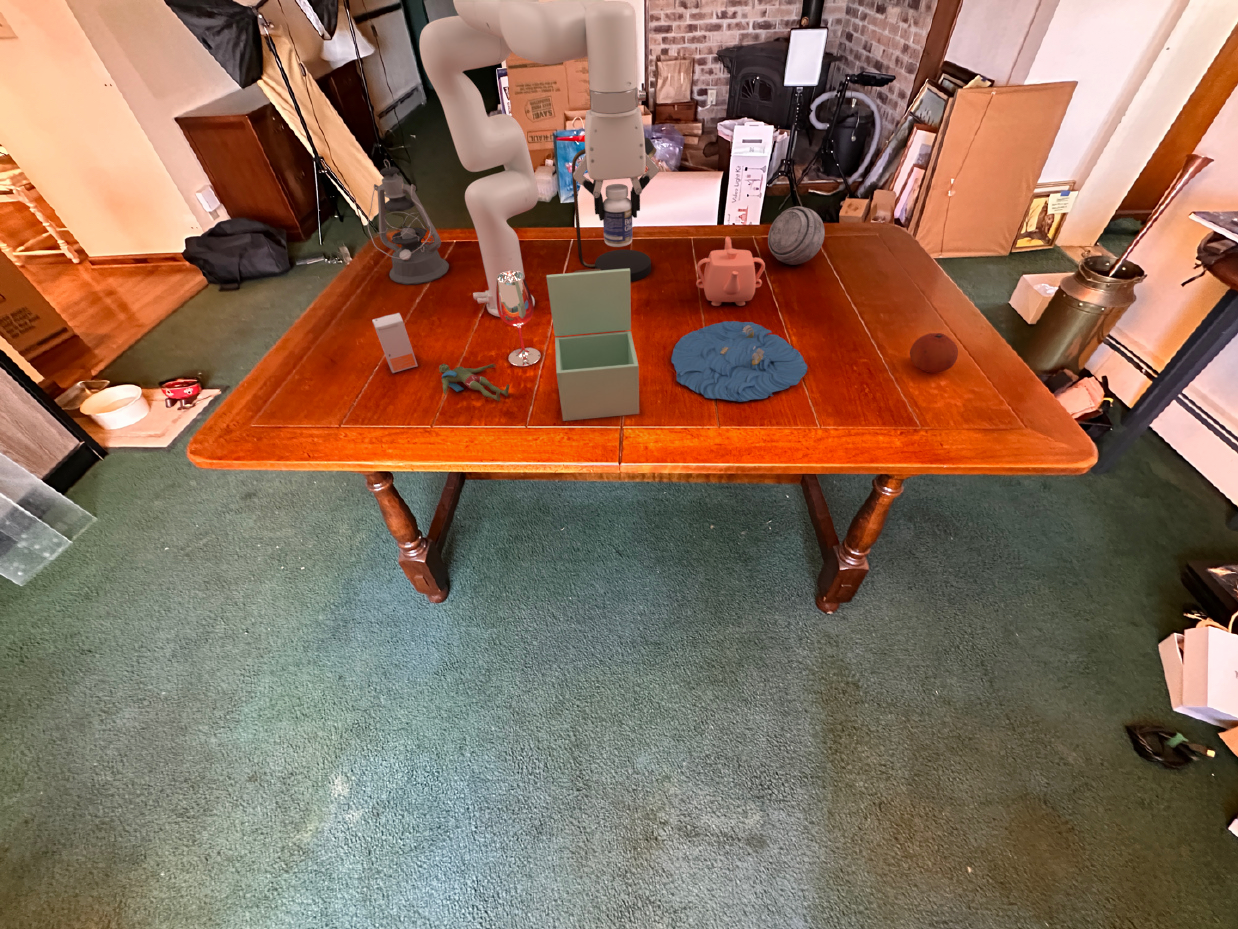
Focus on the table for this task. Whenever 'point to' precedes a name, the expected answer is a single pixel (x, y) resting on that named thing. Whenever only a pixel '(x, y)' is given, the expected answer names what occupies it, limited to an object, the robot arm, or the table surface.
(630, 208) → the pill bottle
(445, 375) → the figurine
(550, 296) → the lid
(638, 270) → the lamp
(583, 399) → the chest
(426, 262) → the lantern
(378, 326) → the cosmetic box
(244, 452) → the table surface
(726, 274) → the teapot
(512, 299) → the wineglass
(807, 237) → the decorative orb
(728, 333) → the blue flat rumpled sheet
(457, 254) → the table surface
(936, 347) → the fruit
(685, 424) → the table surface
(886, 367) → the table surface
